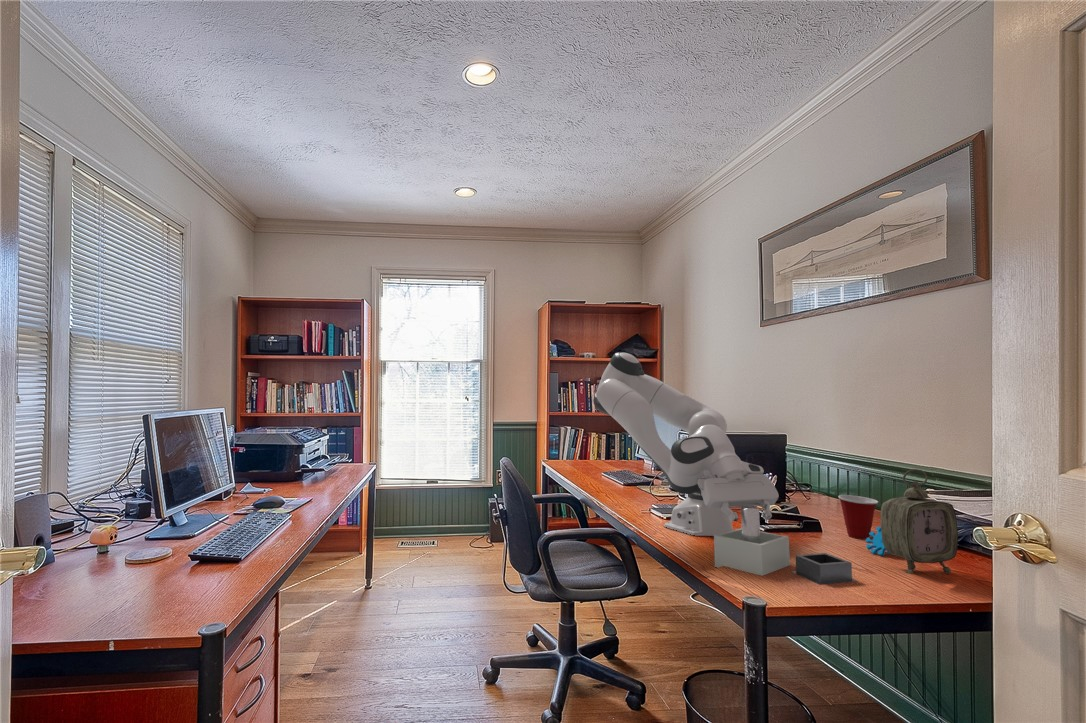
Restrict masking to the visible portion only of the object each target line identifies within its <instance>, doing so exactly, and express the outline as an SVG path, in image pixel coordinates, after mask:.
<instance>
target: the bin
mask: <svg viewBox="0 0 1086 723" xmlns="http://www.w3.org/2000/svg"><path fill="white" fill-rule="evenodd" d="M760 543H761V544H758V543H753V542H748V541H743V540H742V527H740V528H737V529H733V530H732V531H729V532H725V533H721V534H718V535H714V536H713V547H714V553H713V554H714V568H715V567H717V568H716V569H718V568H721V567H726V568H731V569H734V570H738V571H742V572H746V573H749V574H754V575H757V576H765V575H767V574H771V573H773V572H776V571H778V570H781V569H785V568H786V567H789V566H791V564H790V563H791V562H790V559H791V558H790V537H789V536H787V535H782V534H776V533H771V532H766V531H761V530H760Z"/></svg>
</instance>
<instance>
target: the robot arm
mask: <svg viewBox="0 0 1086 723" xmlns="http://www.w3.org/2000/svg"><path fill="white" fill-rule="evenodd" d="M600 378H601V379H600V381H599V383H598V386H597V388H596V392H594V396H593V400H592V401H593V404H594V407H595V409H596V410H598V411H599V412H600V413H602V414H604V415H607V416H611V417H612V419H614V420H615V421H616V423H618V424H619V425H620V426H621V427H622V428H623V429H624V430H625V432H627V433H628V435H629V436H630V437H631V439H633V440H634V442H635V443H636V444H637V445H638V447H639V448H640V449H641V450H642V451H643V452H644V454H645V455H646V456H647V457H648V458H649V459H650V460H651V461H652V463H653V464H655V465H656V466H657V468H658V469H659V470H660V471H662V474H664V476H665V478H666V481H667V482H668V485H669V486H670V488H672V490H673V491H675V492H677V493H680V494H683V495H687V497H686V498H685V499H683V500H682V501H681V502H679V503H678V504H676V506H674V507H673V509H672V512H671V517H670V520H669V521H666V522H665V523H664V527H665V528H666V527H667V529H670V530H673V529H674V531H676V530H677V532H679V533H680V532H681V533H683V532H684V534H686V533H687V535H690V534H691V535H690V536H693V535H695V537H697V536H699V537H700V536H707V537H709V536H710V537H711V536H712V537H714V535H718V534H721V533H725V532H729V531H732V530H734V527H733V522H738V520H739V519H740V518H739V515H738V513H737V512H736V511H733V510H732V508H741V507H745V506H750V507H761V509H763V511H762V513H761V516H762V517H763V520H771V518H772V517H773V515H772V512H771V511H770V509H771V506H773V505H775V504H776V502H777V501H778V500H779V492H778V490H777V488H776V486H775V485H774V484H773V482H772V480H771V479H770V478H769V476H767V475H766V474H764V473H765V472H764V471H765V470H764V468H763V467H762V466H760V465H757V464H753V463H749V462H746V461H744V460H741V458H740V457H739V456H738V455H737V454H736V452H735V447H734V445H733V443H732V442H731V440H730V438H729V437H728V435H727V434H726V433H727V430H728V426H727V425H728V424H727V420H726V418H725V417H724V416H723V415H722V413H720V412H719V411H717V410H715V409H713V408H711V407H709V406H708V405H705V404H703V403H702V402H700V401H699V400H696V399H694V398H692V397H691V396H689V395H687V394H685V393H682V391H679V390H677V389H676V388H674V387H673V386H671V385H668V384H667V383H665V382H663V381H661V380H660V379H657V378H656V377H653V376H651V375H648V374H645V371H644V369H643V366H642V364H641V362H640V360H639V359H638V358H637V357H636V356H634V355H633V354H631V353H627V352H623V351H619V352H615V353H614V354H613V356H612V357H611V358H610V360H609V363H608V365H607V366H606V368H604V371H603V373H602V375H601V377H600ZM654 416H655V417H658V418H659V419H661V420H663V421H664V422H666V423H667V424H670V425H672V426H674V427H676V428H677V429H680V430H682V431H684V432H686V433H688V437H682V438H678V439H677V440H676V441H675V442H674V443H673V444H672V445H671V448H669V447H668V446H667V445H666V443H664V441H663V440H662V439H661V438H660V435H659V433H658V430H657V426H656V422H655V417H654Z"/></svg>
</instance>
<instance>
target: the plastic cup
mask: <svg viewBox="0 0 1086 723" xmlns="http://www.w3.org/2000/svg"><path fill="white" fill-rule="evenodd" d="M837 497H838V499H839V501H840V505H841V506H840V507H841V509H842V514H843V519H844V523H845V524H844V525H845V526H846V527H845V528H846V532H847V535H848V537H849V538H852V539H857V540H858V539H859V540H866V539H867V538H870V539H871V536H870V535H869V533H870V532H871V531H872V526H873V521H874V520H873V519H874V515H875V509H876V506H877V505H878V503H879V501H878V500H876V499H874V498H870V497H865V496H859V495H850V494H841V495H840V494H839V495H838V496H837Z"/></svg>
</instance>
